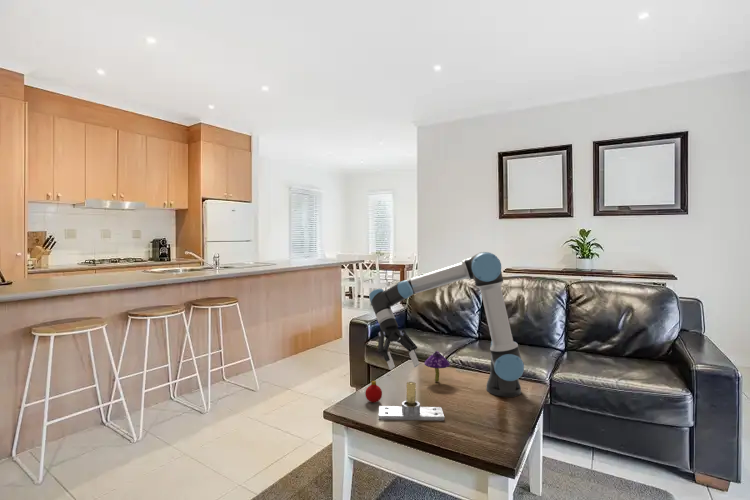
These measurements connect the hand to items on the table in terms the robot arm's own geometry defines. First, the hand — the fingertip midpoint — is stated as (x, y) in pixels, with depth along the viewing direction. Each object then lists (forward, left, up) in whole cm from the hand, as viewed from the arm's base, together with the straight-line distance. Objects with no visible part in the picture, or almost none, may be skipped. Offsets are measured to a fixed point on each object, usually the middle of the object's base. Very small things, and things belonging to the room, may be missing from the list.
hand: (405, 367), depth 165 cm
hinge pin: (-2, +6, -15) cm, 17 cm away
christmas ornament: (+13, -6, -17) cm, 22 cm away
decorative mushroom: (-17, -32, -17) cm, 40 cm away
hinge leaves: (-2, +6, -17) cm, 18 cm away
